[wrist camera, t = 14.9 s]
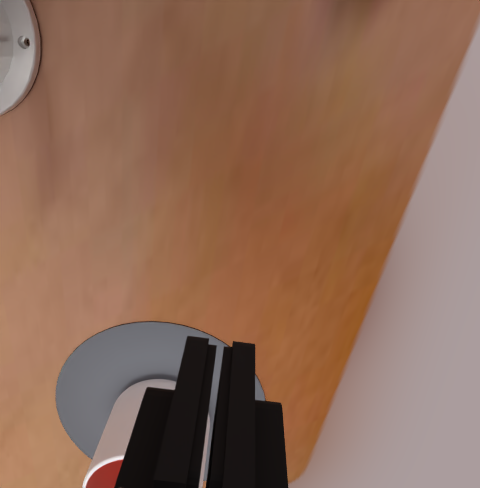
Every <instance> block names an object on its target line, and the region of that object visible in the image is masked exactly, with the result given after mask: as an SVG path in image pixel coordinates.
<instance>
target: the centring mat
mask: <svg viewBox="0 0 480 488" xmlns="http://www.w3.org/2000/svg"><path fill="white" fill-rule="evenodd" d="M187 336H194V337H202V338H209V344H210V345H217V349H216V357H215V365H214V372H213V380H212V388H211V396H210V404H209V411H208V412H209V417H210V429H209V438H208V446H207V454H206V462H205V471H204V479H203V481H206V480H207V473H208V464H209V455H210V446H211V437H212V429H213V422H214V415H215V407H216V400H217V393H218V386H219V378H220V371H221V364H222V356H223V349H224V346H226V347H229V346H228V345H226V344H225V343H224V342H222V341H220V340H218V339H217V338H215V337H213V336H211V335H209V334H207V333H204V332H202V331H199V330H197V329H194V328H190V327H187V326H184V325H179V324H173V323H167V322H153V321H152V322H135V323H129V324H123V325H119V326H116V327H112V328H109V329H107V330H105V331H102V332H100V333H98V334H96V335H94V336H93V337H91V338H89V339H88V340H86V341H85V342H84V343H82V344H81V345H80V346H79V347H78V348H76V350H75V351H74V352H73V353H72V354H71V355H70V356H69V358H68V359H67V361H66V362H65V364H64V366H63V367H62V370H61V372H60V375H59V377H58V381H57V386H56V405H57V411H58V414H59V417H60V420H61V422H62V425H63V427H64V429H65V431H66V432H67V434H68V435H69V437H70V438H71V440H72V441H73V442H74V443H75V444H76V445H77V447H78V448H79V449H80V450H81V451H82V452H84V453H85V454H86V455H87V456H88V457H89V458H91V459H93V456H94V454H95V451H96V449H97V446H98V444H99V441H100V439H101V436H102V434H103V431H104V429H105V426H106V424H107V421H108V419H109V416H110V414H111V411H112V409H113V406H114V404H115V402H116V400H117V399H118V397H119V396H120V395H121V394H122V393H123V392H124V391H125V390H126V389H127V388H129V387H130V386H132V385H134V384H136V383H138V382H141V381H145V380H150V379H166V380H171V381H175V382H177V377H178V373H179V369H180V365H181V360H182V356H183V352H184V348H185V343H186V339H187ZM255 400H261V401H265V396H264V392H263V389H262V387H261V384H260V382H259V380H258V378H257V376H256V375H255Z"/></svg>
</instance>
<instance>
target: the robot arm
mask: <svg viewBox="0 0 480 488" xmlns="http://www.w3.org/2000/svg"><path fill="white" fill-rule="evenodd" d="M27 39H29V41H30V46H29V45H28V44H27ZM39 62H40V35H39V29H38V23H37V19H36V16H35V14H34V11H33V8H32V5H31V2H30V0H0V116H1V115H3V114H5V113H7V112H8V111H10V110H12V109H14V108H15V107H16V106H17V105H18V104H19V103H20V102H21V101H22V100H23V99H24V98H25V96H26V95H27V94H28V92H29V91H30V89H31V88H32V86H33V83H34V81H35V78H36V76H37V73H38V68H39ZM216 349H217V345H210V344H209V338H202V337H194V336H187V339H186V343H185V348H184V352H183V356H182V360H181V365H180V369H179V373H178V377H177V382H176V386H175V390H171V389H162V388H154V387H147V388H146V390H145V393H144V396H143V399H142V402H141V405H140V409H139V412H138V415H137V418H136V421H135V424H134V427H133V430H132V434H131V437H130V440H129V443H128V446H127V449H126V452H125V455H124V459H123V462H122V465H121V468H120V471H119V474H118V477H117V480H116V484H115V487H114V488H199V482H200V474H201V466H202V458H203V451H204V443H205V435H206V427H207V419H208V411H209V404H210V396H211V388H212V380H213V372H214V365H215V357H216ZM206 488H288V479H287V466H286V452H285V439H284V426H283V412H282V405H281V403H278V402H270V401H261V400H255V344H251V343H243V342H235V341H233V345H232V347H226V346H224V349H223V356H222V364H221V371H220V378H219V386H218V393H217V400H216V407H215V415H214V422H213V429H212V437H211V446H210V455H209V464H208V473H207V482H206Z"/></svg>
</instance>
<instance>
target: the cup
mask: <svg viewBox="0 0 480 488" xmlns="http://www.w3.org/2000/svg"><path fill="white" fill-rule="evenodd" d="M175 386H176V382H175V381H171V380H166V379H150V380H145V381H141V382H138V383H136V384H134V385H132V386H130V387H129V388H127V389H126V390H125V391H124V392H123V393H122V394H121V395H120V396H119V397H118V399H117V400H116V402H115V404H114V406H113V409H112V411H111V414H110V416H109V419H108V421H107V424H106V426H105V429H104V431H103V434H102V436H101V439H100V441H99V444H98V446H97V449H96V451H95V454H94V456H93V459H92V461H91V464H90V466H89V469H88V471H87V474H86V476H85V479H84V482H83V487H82V488H114V487H115V484H116V480H117V477H118V474H119V471H120V468H121V465H122V462H123V459H124V455H125V452H126V449H127V446H128V443H129V440H130V437H131V434H132V430H133V427H134V424H135V421H136V418H137V415H138V412H139V409H140V405H141V402H142V399H143V396H144V393H145V390H146V388H147V387H154V388H162V389H171V390H175ZM209 429H210V417H209V412H208V419H207V427H206V435H205V443H204V451H203V458H202V466H201V474H200V482H199V488H202V487H203V479H204V471H205V462H206V454H207V446H208V438H209Z"/></svg>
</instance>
